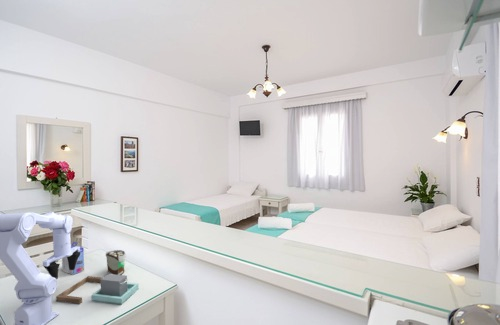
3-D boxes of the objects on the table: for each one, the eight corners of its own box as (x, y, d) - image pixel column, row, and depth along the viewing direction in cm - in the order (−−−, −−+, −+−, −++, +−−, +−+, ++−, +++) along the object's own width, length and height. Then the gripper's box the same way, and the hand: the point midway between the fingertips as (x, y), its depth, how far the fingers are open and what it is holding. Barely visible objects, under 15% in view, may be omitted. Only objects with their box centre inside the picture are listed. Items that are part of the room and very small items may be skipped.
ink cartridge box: (85, 270, 119) (83, 242, 118) (73, 275, 114) (72, 247, 113) (73, 266, 123) (72, 239, 122) (61, 271, 118) (60, 243, 117)
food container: (131, 272, 117) (131, 253, 116) (119, 277, 111) (119, 258, 111) (118, 265, 123) (117, 247, 122) (106, 271, 118) (105, 252, 117)
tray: (121, 304, 92) (121, 298, 92) (91, 301, 94) (91, 295, 94) (138, 289, 102) (138, 283, 102) (111, 286, 105) (110, 280, 105)
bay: (79, 304, 93) (79, 299, 92) (56, 301, 94) (56, 296, 94) (108, 282, 108) (108, 278, 108) (88, 280, 110) (88, 276, 109)
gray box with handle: (122, 297, 95) (121, 281, 95) (101, 295, 97) (100, 279, 97) (129, 291, 100) (128, 275, 99) (109, 289, 101) (108, 273, 101)
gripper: (52, 251, 89) (54, 285, 90) (85, 237, 103) (86, 266, 104) (37, 250, 90) (39, 283, 91) (71, 236, 104) (73, 265, 105)
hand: (63, 274), depth 97 cm, fingers open, 7 cm apart
